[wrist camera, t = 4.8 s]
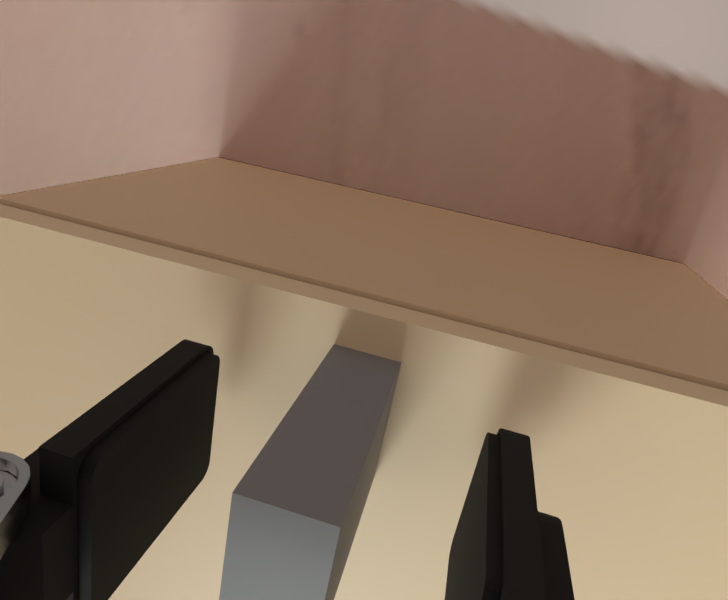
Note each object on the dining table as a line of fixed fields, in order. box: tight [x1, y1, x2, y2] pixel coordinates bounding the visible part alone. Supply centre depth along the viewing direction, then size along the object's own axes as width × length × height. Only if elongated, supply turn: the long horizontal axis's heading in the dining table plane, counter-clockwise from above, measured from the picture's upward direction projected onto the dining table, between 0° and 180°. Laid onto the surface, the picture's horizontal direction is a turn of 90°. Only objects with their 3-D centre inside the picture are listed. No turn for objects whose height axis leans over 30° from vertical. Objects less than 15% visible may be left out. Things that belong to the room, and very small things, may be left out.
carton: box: [0, 157, 728, 391], centre depth 21 cm, size 18×20×12 cm
